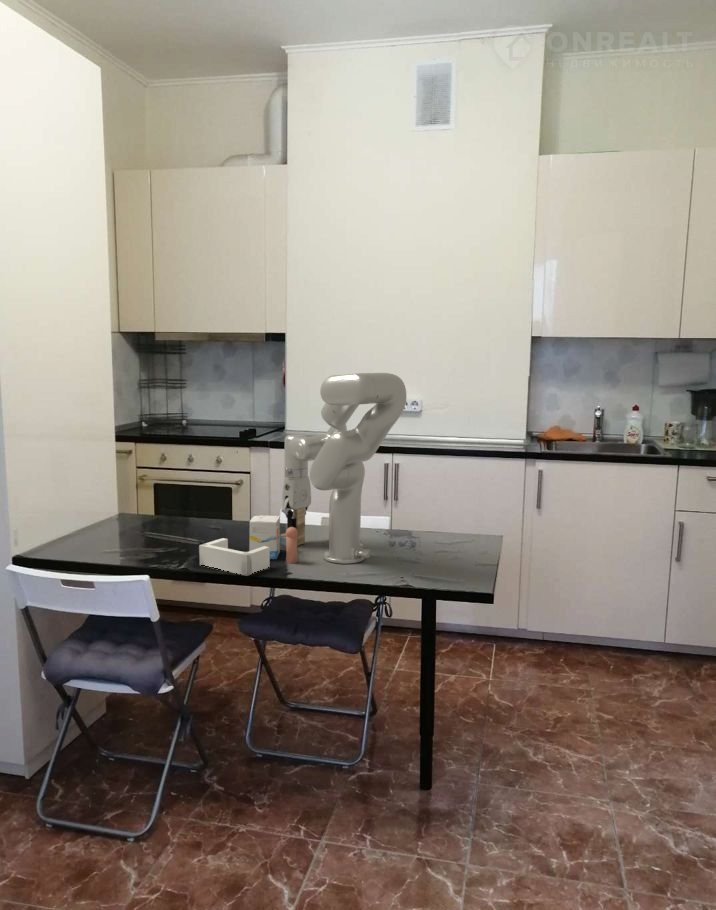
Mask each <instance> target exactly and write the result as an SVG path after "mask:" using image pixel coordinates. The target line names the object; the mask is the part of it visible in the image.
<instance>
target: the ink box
mask: <svg viewBox="0 0 716 910" xmlns="http://www.w3.org/2000/svg"><path fill="white" fill-rule="evenodd" d="M280 518H281V516H280V515H265V514H264V515H262V514H261V515H254V516H253V517H251V519H250V520H249V548H248V552H249V551H251V550H254V549H257V548H260V547H263V546H266V547H270V560H277V559H278V557H279V554H280V552H281V551H280V535H281V533H280V532H281V524H280V523H281V521H280V520H281V519H280Z"/></svg>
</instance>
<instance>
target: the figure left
mask: <svg viewBox="0 0 716 910" xmlns="http://www.w3.org/2000/svg"><path fill="white" fill-rule="evenodd" d="M285 533H286V554H285V556H286V557H285V558H286V561H285V562H286V563H287V564H296V563H298V546H297V535H298V531H297V529H296V528H294V527H289V528H288V529H287V528H286V531H285Z"/></svg>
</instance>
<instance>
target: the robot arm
mask: <svg viewBox="0 0 716 910" xmlns="http://www.w3.org/2000/svg"><path fill="white" fill-rule="evenodd" d="M320 398H321V399H322V401H323V402H324V403H325V404H324V405H323V407H322V408H321V410H320V414H321V418H322V419H323V421H324V422H325V423H326V424H327V425H328V426H330V427H329V429H328V430H327V431H326V433H325V434H322V435H313V436H311V435H310V436H307V435H304V434H298V433H297V434H288V435H286V436H285V437H284V479H283V484H282V485H283V486H282V498H281V499H282V501H281V502H282V508H281V512H282V513H283V514H284V515H285V517H286V518H287V519H286V520H287V521H286V526H287V527H286V530H287V529H288V528H289V527H294V528H296V518H295V513H296V510H298V509H301V508H305V516H306V515H307V511H308V508H309V507H310V506H311V504H312V489H311V485H312V486H313V487H314V488H315V489H317V490H319V491H331V490H332V491H331V494H330V497H329V503H328V505H329V509H328V512H329V513H328V514H329V516H328V517H329V519H328V526H329V527H328V529H329V530H328V532H329V533H328V550H327V551H326V552H324V553H323V559H324V560H325V561H327V562H330V563H333V564H341V565H342V564H344V565H345V564H355V563H361V562H362V561H364V560H365V559H366V558H367V559H369V558H370V556H371V550H370V549H365V548H364V543H361V517H362V515H361V513H362V511H361V510H362V491H363V486H364V485H363V484H364V480H365V475H366V470H365V469H366V468H365V465H364V463H363V462H366V461H369V460H370V459H372V458H373V457H374V455H375V454H376V452H377V451H378V449H379V447H380V446H381V445H382V443H383V441H384V440H385V439H386V437H387V435H388V434H389V432H390V431H391V429H392V428H393V427H394V425H395V424H396V423H397V421H398V420H399V419H400V417H401V415H402V414H403V413H404V411H405V407H406V402H407V387H406V385H405V382H404V381H403V379H402V378H401V377H400V376H398V375H396V374H393V373H388V372H365V373H364V372H359V373H358V372H357V373H350V374H349V373H348V374H334V375H329V376H328V377H326V378H325V379H324V380H323V382H322V383H321V386H320ZM369 404H371V405H372V404H374V405H373V406H372V407H371V408H370V409H369V410H367V412H366V413H365V414H364V415H363V417H362V418H361V419H360V421H359V423H358V424H357V425H356V426H355V428H353V429H348V428H347V427H348V426H347V423H348V421H349V420H350V419H351V417H352V416H353V414H354V413H355V411H356V410H357V409H358V407H360V405H369ZM311 461H313V462H312V464H311V467H310V470H309V462H311ZM290 507H291V508H290ZM290 510H292V513H291V512H290Z"/></svg>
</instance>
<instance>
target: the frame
mask: <svg viewBox="0 0 716 910" xmlns="http://www.w3.org/2000/svg"><path fill="white" fill-rule="evenodd" d="M198 553H199V559H198V560H199V566H201V565H205V566H209V567H214V568H218V569H221V570H220V571H223V570H224V572H227V571H229V572H228V573H232V574H236V573H237V575H240V574H241V576H247V577H249V576H250V575H253V574H255V573H254V572H256V573H258V572H257V571H259V572H261V571H264V570H266V569H269V568H270V567H271V566H270V564H271V563H270V561H271V559H270V547H266V546H263V547H260V548H257V549H254V550H251V551H249V550H248V551H240V550H236V549H233V548H229V539H228V538H224V537H222V538H219V539H215V540H212V541H209V542H206V543H202V544H199V546H198ZM205 566H204V567H205ZM209 567H208V568H209ZM268 567H269V568H268ZM214 568H213V569H214ZM218 569H217V570H218ZM263 569H264V570H263ZM260 570H261V571H260ZM252 573H253V574H252Z"/></svg>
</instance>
